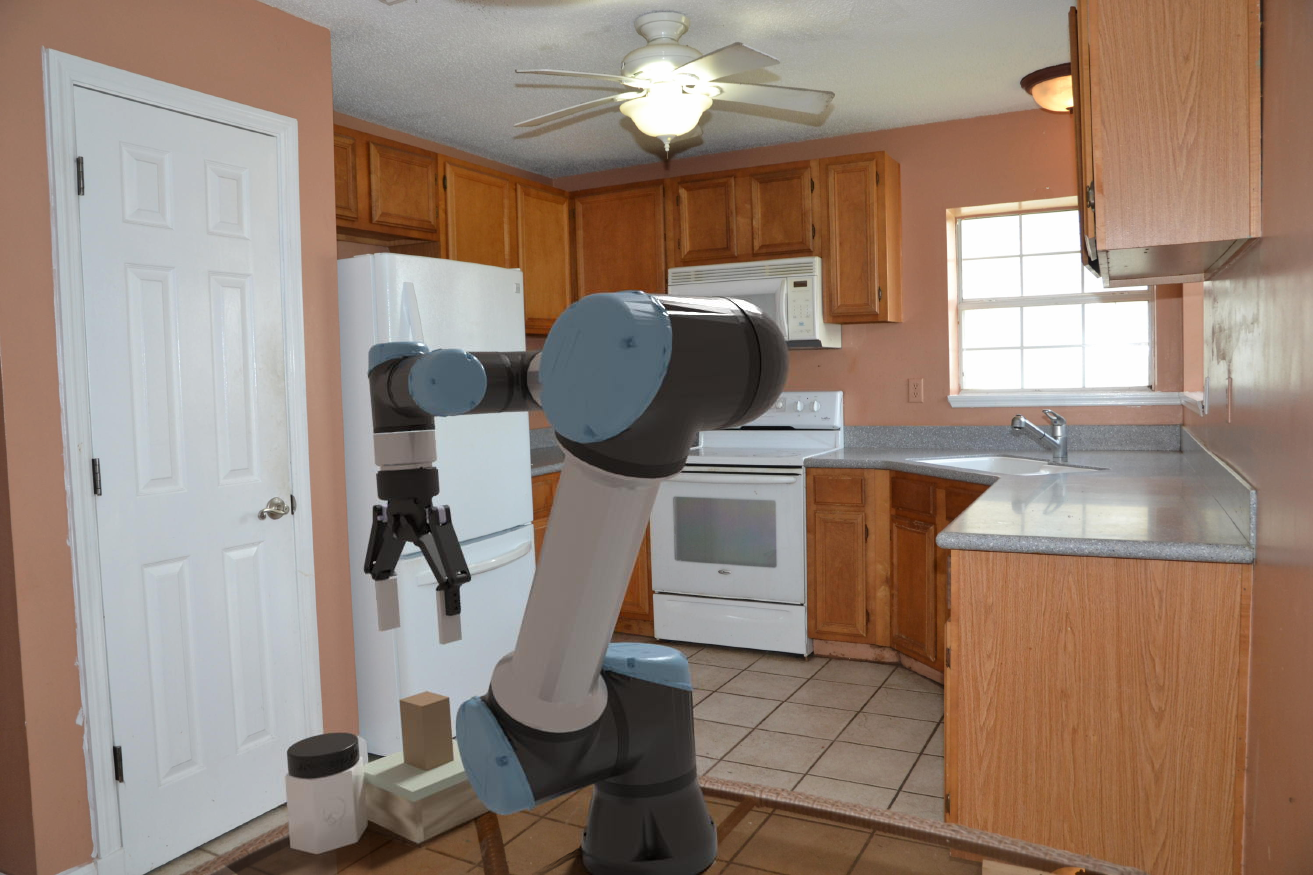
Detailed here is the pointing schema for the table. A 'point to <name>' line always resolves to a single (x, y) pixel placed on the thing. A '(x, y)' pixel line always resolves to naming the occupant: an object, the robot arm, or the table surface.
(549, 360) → the robot arm
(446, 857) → the table surface
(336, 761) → the jar
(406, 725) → the lid
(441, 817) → the box
